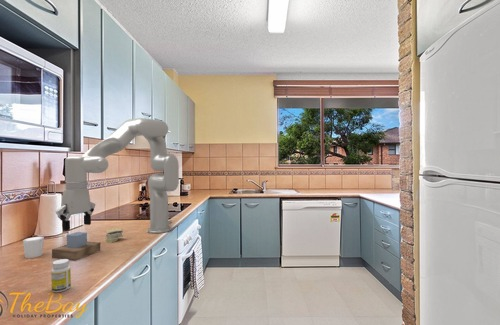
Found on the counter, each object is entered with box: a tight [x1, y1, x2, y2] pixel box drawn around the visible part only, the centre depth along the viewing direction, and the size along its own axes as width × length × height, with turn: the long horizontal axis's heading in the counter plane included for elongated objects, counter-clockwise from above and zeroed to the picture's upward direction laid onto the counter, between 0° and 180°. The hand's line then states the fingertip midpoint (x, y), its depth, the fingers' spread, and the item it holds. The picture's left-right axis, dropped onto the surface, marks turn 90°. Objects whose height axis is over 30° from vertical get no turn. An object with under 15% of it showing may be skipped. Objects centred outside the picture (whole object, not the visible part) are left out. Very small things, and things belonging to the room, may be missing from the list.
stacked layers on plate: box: [105, 227, 124, 244], centre depth 131 cm, size 10×9×6 cm
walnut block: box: [51, 241, 101, 262], centre depth 112 cm, size 12×12×4 cm
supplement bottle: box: [50, 259, 72, 293], centre depth 81 cm, size 5×5×8 cm
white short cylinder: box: [22, 236, 45, 259], centre depth 111 cm, size 7×7×7 cm
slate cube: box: [66, 231, 88, 248], centre depth 112 cm, size 5×5×5 cm
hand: (77, 227), depth 112 cm, fingers open, 9 cm apart
